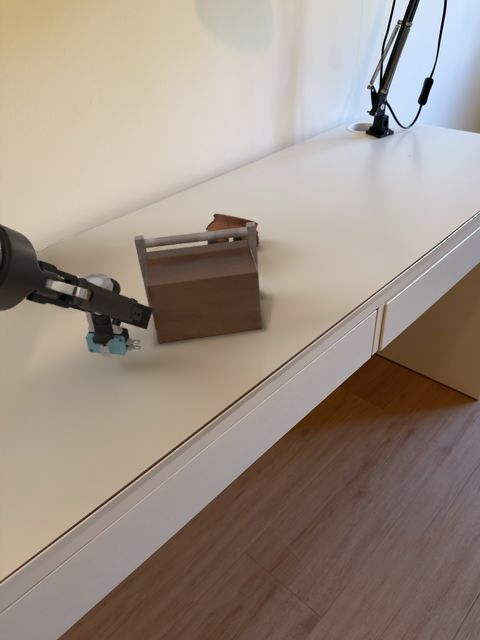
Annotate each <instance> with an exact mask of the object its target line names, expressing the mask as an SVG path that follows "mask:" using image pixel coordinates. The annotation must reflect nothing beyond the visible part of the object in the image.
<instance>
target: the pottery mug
mask: <svg viewBox="0 0 480 640" xmlns="http://www.w3.org/2000/svg"><path fill="white" fill-rule="evenodd" d="M212 216H213V220H212V221H210V223H209V224H208V225H207V227H205V231H206V232H208V231H217V230H225V229H233V228H242V227H246V223H250V222H255V225H256V238H257V248H259V245H260V238H259V231H258V229H257V228H258V226H259V223H258V222H256V221H254V220H251V219H246V218H243V217H238V216H234V215H230V214H229V215H228V214H223V213H214V214H213V215H212ZM240 240H247V236H242V237H234V238H232V241H240ZM224 242H230V238H226V239H218V240H209V241H206V245H207V244H216V243H224Z"/></svg>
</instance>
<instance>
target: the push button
mask: <svg viewBox="0 0 480 640" xmlns="http://www.w3.org/2000/svg"><path fill="white" fill-rule="evenodd" d="M82 278H84V279H87V281H89V282H91V283H93V284H95V285H97V286H100V287H103V288H105V289H108V290H110V291H113V292H115V293H118V294H120V293H121V285H120V283H119V282H118V280H116V279H114V278H113V277H110V276H108V275H107V274H102V273H91V274H88V275H85V276H83V277H82ZM81 309H82V310H83V311H85V312H84V314H85V317H86V320H87V325H88V327H87V331H88V332H87V333H86V335H85V340H86V344H87V349H88V351H89V353H91V354H95V353H96V354H100V355H101V356H102V357H110V356H111V355H118V356H119V355H120V356H125V355H126V354H127V352H128V351H141V349H142V345H140V343H141V339H134V338H130V333H129V332H130V331H129V329H128V328H126V327H122V326H120V327H119V326H116V325H112V321H113V319H110V318H111V317H109V316H106V315H103V314H99V313H96V312H93V311H89V310H86V309H83V308H81ZM83 311H82V312H83Z"/></svg>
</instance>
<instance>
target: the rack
mask: <svg viewBox="0 0 480 640" xmlns="http://www.w3.org/2000/svg"><path fill="white" fill-rule="evenodd" d="M255 222H256V221H254V222H250V223H246V227H242V228H233V229H225V230H217V231H208V232H207V231H201V232H192V233H185V234H176V235H167V236H157V237H151V238H145V236H144V235H143V234H139V235H134V238H133V239H134V240H133V241H134V246H135V250H136V254H137V259H138V264H139V268H140V273H141V278H142V281H143V286H144V292H145V296H146V300H147V301H146V302H147V304H148V307H150V308H153V310H152V314H151V316H152V319H153V324H154V328H155V334H156V337H157V342H158V344H163V343H170V342H177V341H184V340H191V339H199V338H205V337H212V336H220V335H227V334H234V333H242V332H249V331H254V330H255V331H256V330H261V329H262V313H261V298H260V297H261V291H260V275H259V257H258V247H257V238H256V225H255ZM242 236H247V240H240V241H234V240H231V241H229V242H224V243H216V244H207V243H206V244H200V245H193V246H185V247H184V246H183V247H176V248H175V247H174V248H167V249H159V250H150V251H148V250H147V249H151V248H159V247H168V246H176V245H183V244H193V243H201V242H207V241H209V240H218V239H226V238H229V239H233V238H234V237H242Z"/></svg>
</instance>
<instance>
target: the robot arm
mask: <svg viewBox="0 0 480 640" xmlns="http://www.w3.org/2000/svg"><path fill="white" fill-rule="evenodd" d="M24 300H25V301H29V302H33V303H37V304H41V305H46V304H49V305H52V306H55V307H59V308H63V309H70V308H71V309H73V310H76V311H81V312H83V313H85V311H83V310H82V309H81V308H83V309H86V310H89V311H93V312H96V313H99V314H103V315H106V316H109V317H111V318H110V319H113V321H112V325H116V326H119V327H121V326H122V323H124V324H127V325H130V326H133V327H136V328H139V329H143V330H148V328H149V323H150V320H151V318H152V310H153V308H150V307H149V306H147V305H144V304H142V303H139V301H138V300H137V299H136V298H133V297H128V296H126V295H123V294H118V293H115V292H113V291H110V290H108V289H105V288H103V287H100V286H97V285H95V284H93V283H91V282H89V281H87V279H84V278H83V277H78V276H77V275H75V274H72V273H69V272H68V271H67V272H66V271H64V270H61V269H60V268H58V267H57V266H56V265H54V264H52V263H49V262H47V261H43V260H39V259H38V256H37V252H36V249H35V247H34V245H33V243H32V242H31V241H30V239H28V237H27V236H26V235H24V234H23V233H21V232H19V231H17V230H15V229H12V228H10V227H8V226H5V225H3V224H1V223H0V312H3V311H8V310H11V309H12V308H13V309H14V307H17V306H18V305H19V304H20V303H22V302H23V301H24Z"/></svg>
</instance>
